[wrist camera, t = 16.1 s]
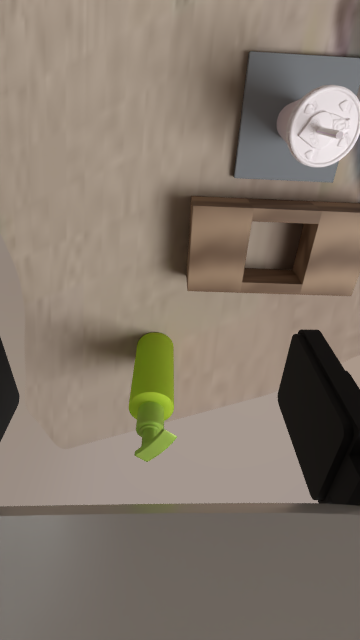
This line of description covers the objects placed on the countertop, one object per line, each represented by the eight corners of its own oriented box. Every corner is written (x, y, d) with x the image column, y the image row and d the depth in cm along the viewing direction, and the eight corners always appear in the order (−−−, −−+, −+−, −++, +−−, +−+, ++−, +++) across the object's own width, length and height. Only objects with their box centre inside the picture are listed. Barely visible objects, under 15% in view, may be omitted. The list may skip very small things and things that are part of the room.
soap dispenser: (185, 341, 55) (190, 448, 39) (157, 366, 58) (152, 476, 41) (156, 321, 53) (150, 425, 36) (129, 348, 56) (111, 456, 39)
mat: (249, 52, 35) (250, 51, 35) (363, 59, 36) (366, 58, 35) (233, 176, 42) (234, 177, 41) (330, 181, 42) (332, 182, 42)
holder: (191, 196, 43) (193, 205, 39) (363, 203, 44) (381, 213, 40) (186, 275, 49) (187, 290, 45) (337, 280, 50) (351, 296, 46)
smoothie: (262, 95, 37) (304, 94, 25) (323, 79, 36) (396, 72, 24) (266, 159, 40) (305, 185, 28) (322, 146, 40) (386, 167, 28)
